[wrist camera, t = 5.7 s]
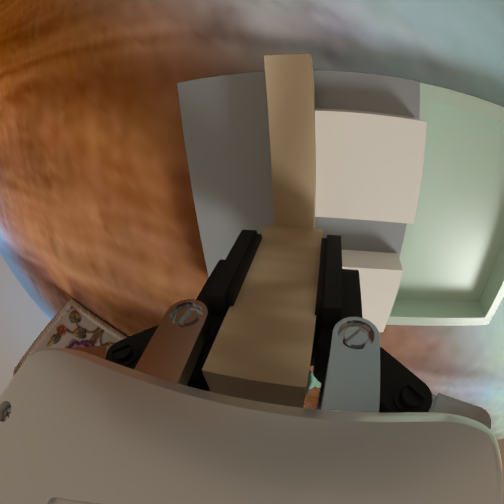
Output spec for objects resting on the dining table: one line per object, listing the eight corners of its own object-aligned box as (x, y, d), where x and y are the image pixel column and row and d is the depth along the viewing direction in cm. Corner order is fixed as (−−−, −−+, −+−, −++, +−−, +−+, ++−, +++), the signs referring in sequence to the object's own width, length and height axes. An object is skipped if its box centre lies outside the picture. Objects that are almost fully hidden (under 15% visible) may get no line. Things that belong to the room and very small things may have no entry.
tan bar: (322, 60, 9) (314, -21, 2) (313, 338, 18) (290, 468, 10) (264, 61, 10) (121, 20, 2) (277, 334, 18) (242, 460, 11)
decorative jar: (71, 294, 30) (-9, 397, 15) (144, 344, 31) (74, 466, 16) (76, 336, 37) (20, 418, 22) (135, 375, 38) (86, 467, 23)
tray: (531, 121, 8) (551, 129, 7) (479, 305, 17) (487, 324, 15) (401, 82, 11) (414, 81, 9) (373, 302, 19) (376, 324, 17)
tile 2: (397, 253, 13) (403, 270, 12) (380, 314, 16) (383, 332, 14) (314, 247, 14) (312, 264, 13) (310, 309, 17) (308, 327, 15)
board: (401, 82, 11) (419, 81, 8) (373, 302, 19) (376, 332, 17) (201, 82, 13) (176, 82, 11) (229, 289, 22) (217, 317, 19)
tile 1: (415, 117, 9) (426, 122, 8) (405, 209, 12) (413, 224, 11) (315, 108, 10) (314, 110, 9) (316, 203, 13) (314, 216, 12)
